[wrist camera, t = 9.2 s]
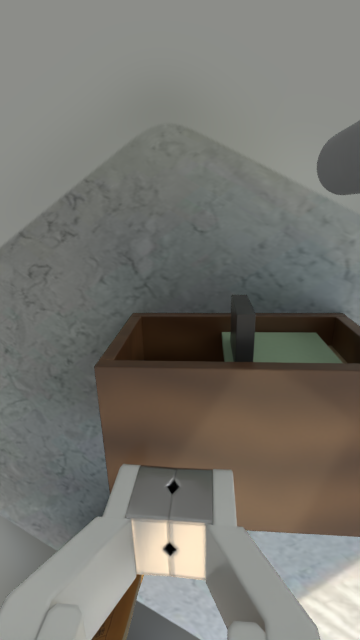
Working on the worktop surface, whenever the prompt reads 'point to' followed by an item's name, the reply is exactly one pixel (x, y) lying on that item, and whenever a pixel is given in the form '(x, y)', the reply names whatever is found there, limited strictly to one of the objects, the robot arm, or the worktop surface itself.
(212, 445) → the brown wooden box
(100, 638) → the pancake mix bag
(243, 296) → the sliding door
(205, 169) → the worktop surface
